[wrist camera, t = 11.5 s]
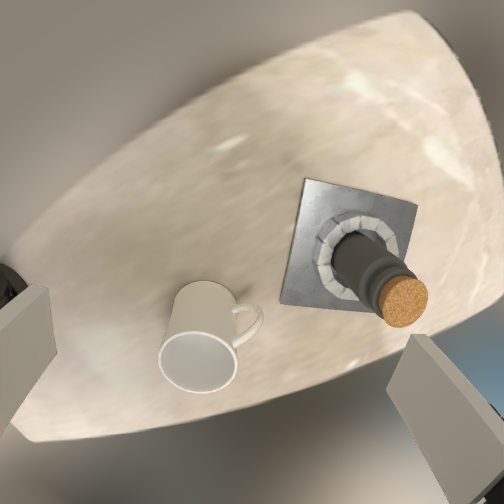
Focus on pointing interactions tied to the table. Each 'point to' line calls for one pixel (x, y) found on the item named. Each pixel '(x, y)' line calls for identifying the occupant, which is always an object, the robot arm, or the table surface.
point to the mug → (203, 338)
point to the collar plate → (316, 220)
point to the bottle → (379, 279)
